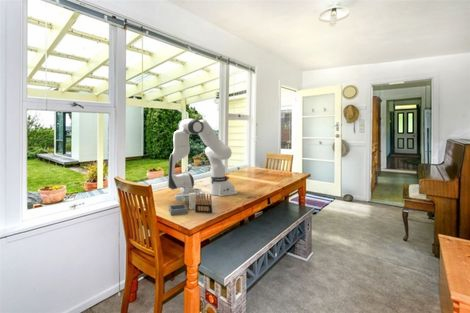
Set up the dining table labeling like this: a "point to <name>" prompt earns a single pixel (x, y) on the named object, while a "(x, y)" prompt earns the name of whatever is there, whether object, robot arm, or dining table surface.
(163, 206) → the dining table surface
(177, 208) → the box
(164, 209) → the dining table surface
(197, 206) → the ammunition clip
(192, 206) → the cream block
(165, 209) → the dining table surface
